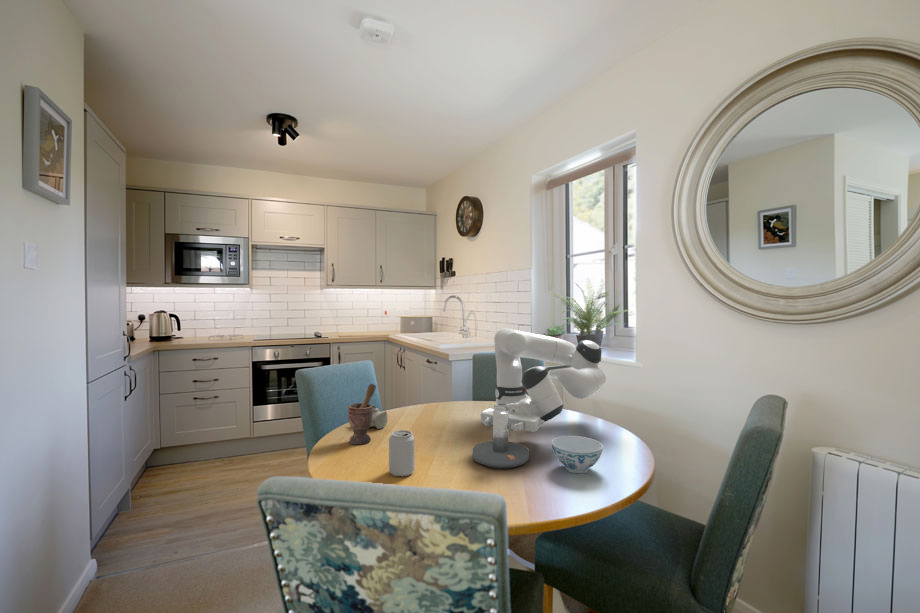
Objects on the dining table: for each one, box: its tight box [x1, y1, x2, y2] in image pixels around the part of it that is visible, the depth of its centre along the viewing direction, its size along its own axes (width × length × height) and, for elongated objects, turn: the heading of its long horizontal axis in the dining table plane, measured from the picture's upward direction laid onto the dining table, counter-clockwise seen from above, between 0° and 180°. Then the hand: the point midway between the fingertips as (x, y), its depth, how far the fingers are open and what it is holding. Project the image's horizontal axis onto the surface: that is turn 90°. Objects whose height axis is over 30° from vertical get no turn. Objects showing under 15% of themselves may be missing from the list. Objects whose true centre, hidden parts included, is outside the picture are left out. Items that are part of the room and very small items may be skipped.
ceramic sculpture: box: [369, 405, 389, 430], centre depth 173 cm, size 11×9×15 cm
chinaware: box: [551, 435, 604, 474], centre depth 129 cm, size 15×15×8 cm
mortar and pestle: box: [347, 383, 377, 445], centre depth 156 cm, size 12×9×20 cm
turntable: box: [472, 440, 530, 468], centre depth 136 cm, size 18×18×3 cm
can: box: [388, 429, 416, 478], centre depth 126 cm, size 8×8×12 cm
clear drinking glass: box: [492, 411, 509, 453], centre depth 136 cm, size 5×5×12 cm
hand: (499, 425), depth 135 cm, fingers open, 8 cm apart
